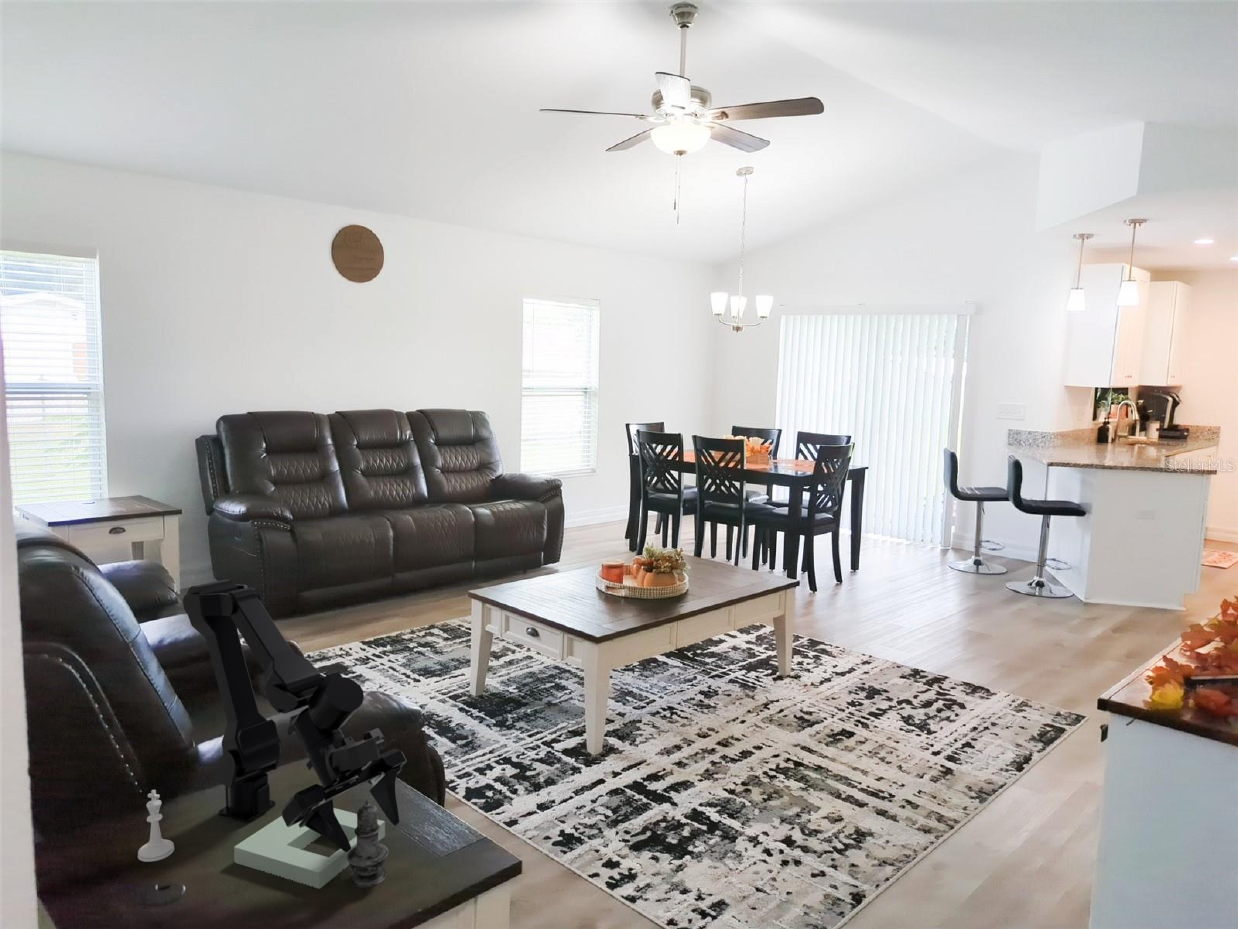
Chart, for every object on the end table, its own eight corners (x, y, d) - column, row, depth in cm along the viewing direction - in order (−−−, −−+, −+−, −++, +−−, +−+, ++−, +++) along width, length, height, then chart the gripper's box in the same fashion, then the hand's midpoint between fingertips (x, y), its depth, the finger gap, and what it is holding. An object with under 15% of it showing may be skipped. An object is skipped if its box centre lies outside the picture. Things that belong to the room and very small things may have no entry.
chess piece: (158, 864, 127) (155, 800, 126) (130, 859, 128) (126, 796, 127) (181, 846, 132) (179, 784, 130) (154, 841, 133) (151, 781, 131)
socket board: (234, 862, 128) (234, 847, 127) (305, 814, 141) (305, 800, 141) (319, 889, 122) (319, 872, 121) (385, 836, 136) (384, 821, 135)
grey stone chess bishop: (396, 876, 125) (395, 799, 124) (360, 894, 121) (359, 814, 119) (375, 860, 129) (374, 785, 128) (339, 876, 125) (338, 799, 123)
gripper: (292, 739, 117) (344, 842, 112) (398, 697, 132) (448, 786, 127) (260, 777, 122) (309, 876, 117) (365, 733, 137) (412, 819, 132)
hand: (373, 837), depth 123 cm, fingers open, 8 cm apart
